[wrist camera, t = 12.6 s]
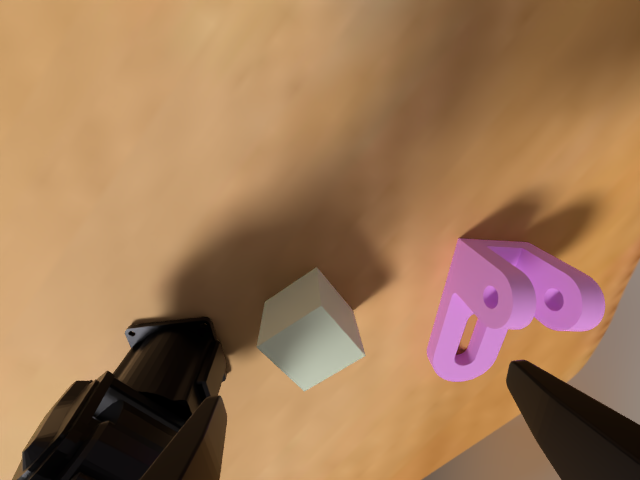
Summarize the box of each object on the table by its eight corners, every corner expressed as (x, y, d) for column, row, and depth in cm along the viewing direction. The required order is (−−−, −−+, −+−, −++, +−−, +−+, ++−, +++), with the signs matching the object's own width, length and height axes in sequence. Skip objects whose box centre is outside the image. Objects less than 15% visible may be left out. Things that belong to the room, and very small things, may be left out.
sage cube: (303, 340, 25) (304, 391, 20) (265, 301, 23) (256, 347, 18) (352, 309, 24) (365, 355, 19) (316, 266, 22) (321, 305, 18)
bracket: (457, 237, 22) (521, 287, 16) (527, 241, 23) (616, 291, 16) (420, 368, 27) (457, 447, 21) (477, 369, 28) (531, 446, 21)
